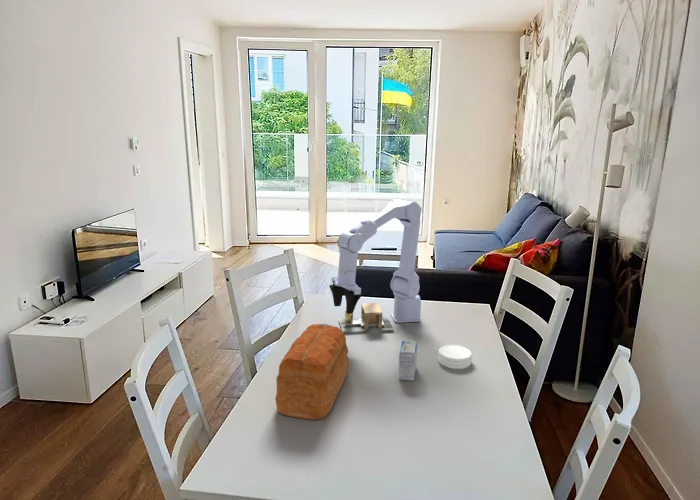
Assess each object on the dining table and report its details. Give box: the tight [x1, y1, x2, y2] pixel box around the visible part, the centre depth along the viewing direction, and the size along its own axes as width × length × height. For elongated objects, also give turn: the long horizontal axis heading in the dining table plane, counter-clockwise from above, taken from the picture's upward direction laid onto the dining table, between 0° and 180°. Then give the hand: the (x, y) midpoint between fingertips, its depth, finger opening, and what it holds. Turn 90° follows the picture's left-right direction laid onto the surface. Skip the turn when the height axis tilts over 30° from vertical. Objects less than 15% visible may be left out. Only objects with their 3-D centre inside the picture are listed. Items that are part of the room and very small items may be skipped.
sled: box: [344, 310, 384, 327], centre depth 170 cm, size 13×6×5 cm, turn 97°
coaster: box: [437, 344, 473, 370], centre depth 146 cm, size 10×10×4 cm
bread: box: [274, 323, 350, 421], centre depth 128 cm, size 14×27×15 cm, turn 167°
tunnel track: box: [338, 302, 395, 335], centre depth 170 cm, size 18×11×7 cm, turn 97°
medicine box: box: [398, 339, 418, 382], centre depth 138 cm, size 8×4×9 cm, turn 168°
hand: (343, 309), depth 158 cm, fingers open, 7 cm apart
